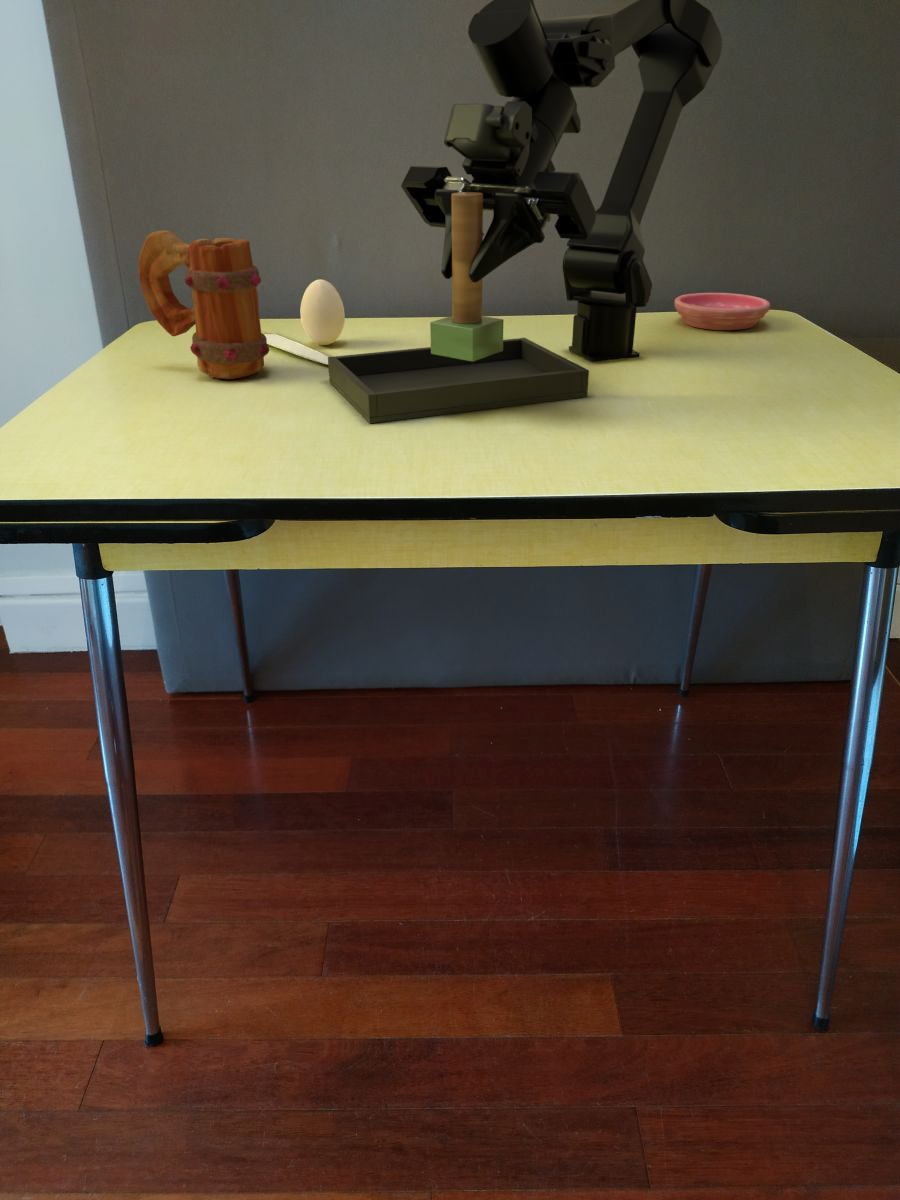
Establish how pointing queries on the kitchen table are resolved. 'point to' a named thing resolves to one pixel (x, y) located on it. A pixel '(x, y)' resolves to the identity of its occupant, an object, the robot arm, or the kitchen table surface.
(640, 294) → the robot arm
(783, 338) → the kitchen table surface
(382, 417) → the tray
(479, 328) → the peg on green base
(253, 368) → the mug
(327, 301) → the egg
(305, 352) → the knife
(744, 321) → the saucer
